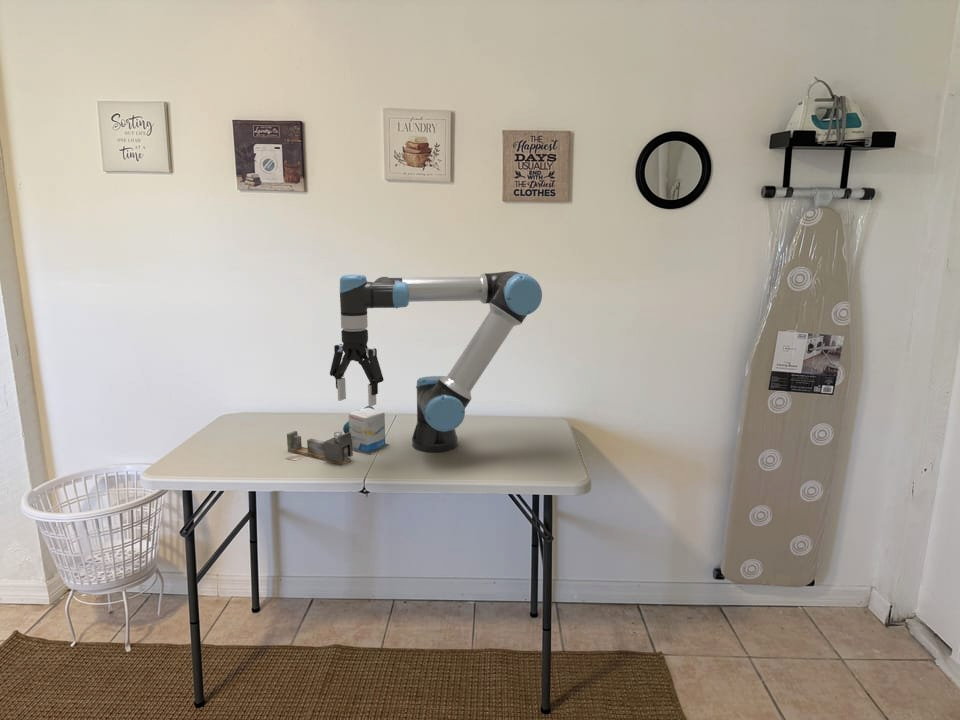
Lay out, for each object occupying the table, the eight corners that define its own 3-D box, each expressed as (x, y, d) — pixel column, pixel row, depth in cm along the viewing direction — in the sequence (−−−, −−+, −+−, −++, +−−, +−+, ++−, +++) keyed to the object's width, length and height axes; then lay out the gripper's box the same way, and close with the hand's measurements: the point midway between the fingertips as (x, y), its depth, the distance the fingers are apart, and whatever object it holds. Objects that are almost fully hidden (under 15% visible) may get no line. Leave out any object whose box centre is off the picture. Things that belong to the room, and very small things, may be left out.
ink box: (386, 445, 202) (385, 411, 199) (366, 452, 195) (365, 417, 193) (368, 439, 207) (367, 406, 204) (349, 446, 200) (347, 412, 198)
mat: (388, 444, 203) (388, 444, 203) (370, 454, 195) (370, 453, 194) (364, 439, 208) (364, 438, 208) (345, 449, 199) (345, 448, 199)
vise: (350, 460, 189) (349, 442, 188) (332, 470, 182) (331, 451, 181) (296, 448, 199) (295, 430, 198) (276, 456, 192) (275, 438, 191)
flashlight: (376, 418, 231) (375, 406, 230) (355, 438, 210) (354, 424, 209) (363, 418, 232) (363, 405, 230) (341, 437, 211) (340, 423, 210)
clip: (352, 455, 190) (351, 431, 188) (340, 462, 185) (338, 437, 183) (337, 452, 193) (336, 428, 191) (324, 458, 188) (323, 434, 186)
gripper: (395, 330, 174) (396, 404, 179) (332, 323, 185) (335, 393, 190) (379, 334, 168) (380, 411, 173) (314, 327, 178) (318, 399, 183)
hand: (357, 402), depth 181 cm, fingers open, 11 cm apart
